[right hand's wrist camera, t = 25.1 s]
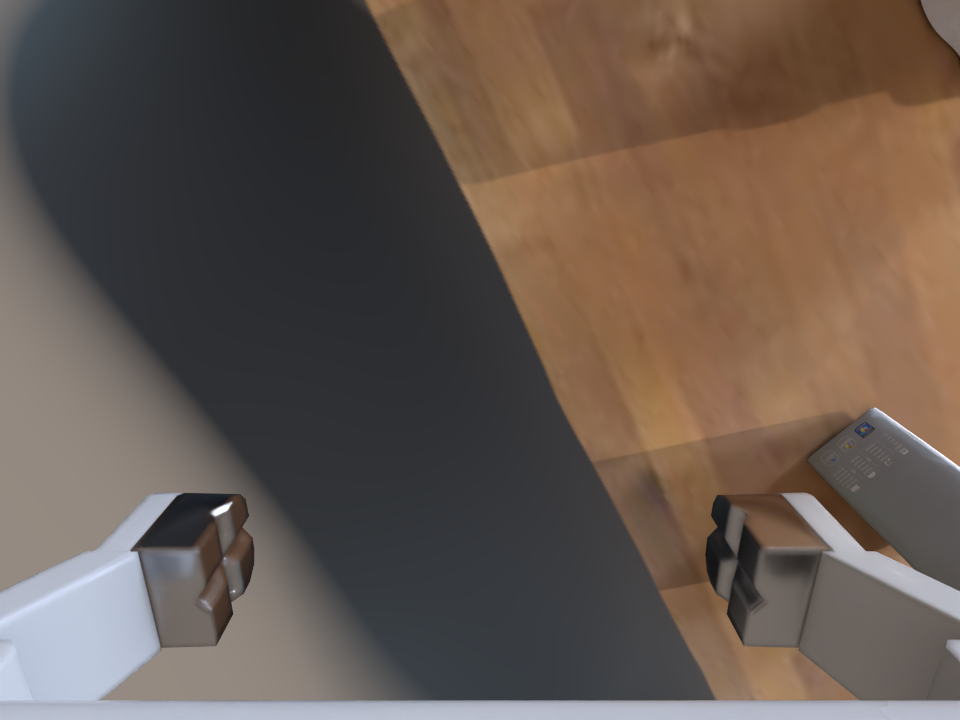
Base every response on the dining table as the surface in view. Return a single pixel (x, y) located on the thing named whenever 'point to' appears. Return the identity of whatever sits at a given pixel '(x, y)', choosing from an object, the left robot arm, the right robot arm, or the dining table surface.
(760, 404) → the dining table surface
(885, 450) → the hard drive box
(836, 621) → the right robot arm
